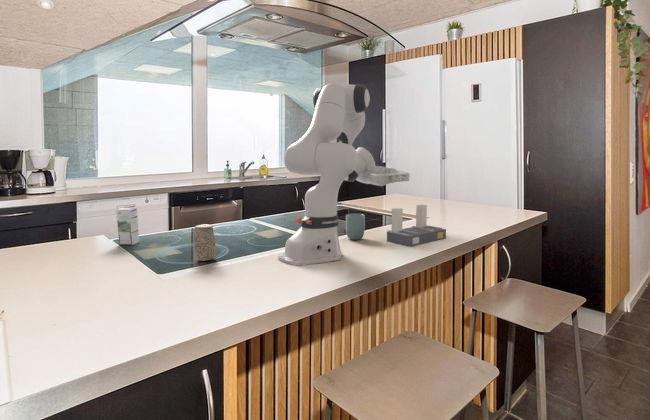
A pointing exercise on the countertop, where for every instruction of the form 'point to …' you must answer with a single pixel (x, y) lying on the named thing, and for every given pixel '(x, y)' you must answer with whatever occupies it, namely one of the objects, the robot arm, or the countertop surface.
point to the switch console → (416, 235)
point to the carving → (204, 242)
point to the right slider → (421, 215)
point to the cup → (355, 226)
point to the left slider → (396, 219)
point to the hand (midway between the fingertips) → (402, 179)
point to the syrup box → (127, 225)
